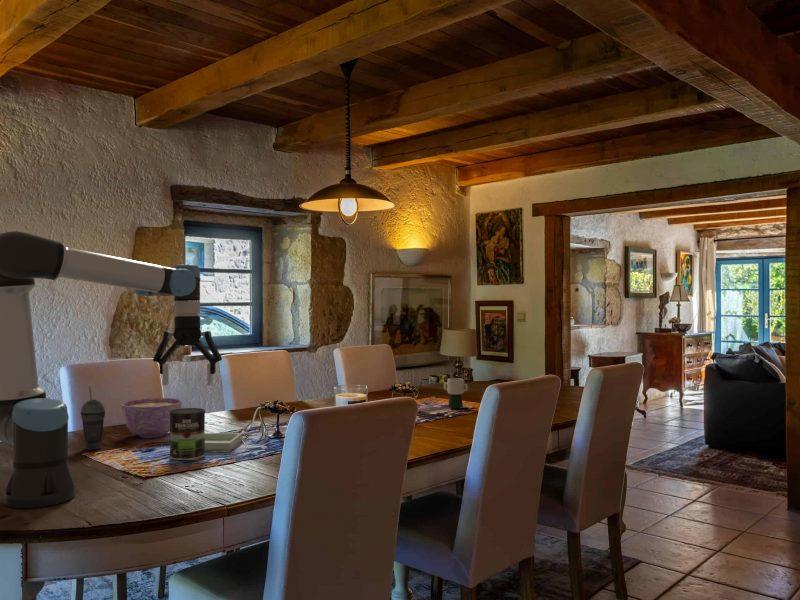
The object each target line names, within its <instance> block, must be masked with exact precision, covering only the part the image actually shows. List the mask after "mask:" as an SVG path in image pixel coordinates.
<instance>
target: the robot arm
mask: <svg viewBox="0 0 800 600" xmlns="http://www.w3.org/2000/svg"><path fill="white" fill-rule="evenodd" d="M59 278H64V279H68V280H69V279H71V280H75V281H76V280H77V281H81V282H87V283H95V284H102V285H109V286H113V287H119V288H126V289H132V290H133V292H134V293H135V294H136V295H137V296H141V297H171V296H172V297H173V300H174V301H173V303H174V305H173V306H174V307H173V311H174V315H176V316H174V317H173V319H174V320H173V323H174V326H173V327H174V330H173V331H170V330H165V331H163V337H162V340H161V342H160V344H159V346H158V348H157V350H156V353H155V354H154V356H153V359H152V361H153V362H156V363H158V364H159V374H160V375H162V386H167V385H169V363H168V362H167V361H169V358H170V357H171V356H172V355H173V354H174V353H175V352H176V350H177V349H178V348H179V347H180V346H181V347H184V346H185V347H186V346H188V347H193V346H195V348H197V349H198V351H199V352H200V353H201V354H202V355H203V356H204V358H205V359H206V360H207V361H208V362H209V363H207V364H206V368H207V369H206V370H207V371H206V375H207V377H206V379H207V380H206V381H207V383H206V385H207V386H212V385H213V381H214V380H213V379H214V377H213V375H214V374H216V369H217V367H216V366H217V363H219V362H220V361H222V356H221V354H220V352H219V350H218V347H217V346H216V343H215V342H214V340H213V337H212V331H211V330H207V331H206V330H205V331H201V316H200V314H201V301H200V300H201V272H200V267H199V265H197V264H190V263H189V264H187V263H186V264H180V263H179V264H175V265H174V266H173V267H168V266H163V265H160V264H159V265H158V264H153V263H148V262H143V261H139V260H138V261H137V260H133V259H128V258H123V257H119V256H118V257H117V256H113V255H107V254H104V253H98V252H93V251H88V250H83V249H77V248H73V247H67V246H66V244H65V243H64V242H63V241H60V240H53V239H49V238H46V237H42V236H38V235H34V234H31V233H27V232H24V231H17V230H14V231H6V232H3V233H2V232H1V233H0V442H1V443H4V444H6V445H8V446H11V447H12V471H11V474H10V476H9V480H8V484H7V485H6V488H5V491H4V495H3V499H4V500H3V501H4V502H3V503H4V504H3V505H4V506H5V507H7V508H13V509H35V508H37V509H38V508H44V507H45V508H46V507H51V506H54V505H57V504H58V505H59V504H62V503H64V502H68V501H70V500H72V499H74V498H75V497H76V495H77V488H76V486H77V485H76V482H75V479H74V478H73V474H72V471H71V469H70V466H69V457H68V456H69V449H68V448H69V412H68V407H67V404H66V403H65V402H64V401H62V400H59V399H55V398H53V399H51V398H47V392H46V389H44V387H42V386H40V384H39V380H38V370H37V368H38V367H37V362H36V361H37V359H36V352H35V351H36V350H35V340H34V338H35V337H34V329H33V320H32V310H31V308H32V307H31V301H30V300H31V299H30V298H31V297H30V292H31V291H32V290H33V289H34V288H35V286H36V283H35V279H41V280H42V279H44V280H51V281H56V280H58V279H59ZM201 337H203V339H204V340H205V341H206V344H207V345H208V348H209V350H210V351H211V352H210V351H209V350H208V349H207V347H205V346H204V344H203V342H202V341H201V340H200V339H201ZM172 338H174V339H175V341H174V342H173V343H171V344H172V345H171V346H170V347H169V348H168V350H167V351H166V352H165V350H166V348H167V346H168V344H169V342H170V340H171V339H172ZM164 352H165V353H164ZM211 353H212V354H211Z"/></svg>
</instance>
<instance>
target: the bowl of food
mask: <svg viewBox="0 0 800 600" xmlns="http://www.w3.org/2000/svg"><path fill="white" fill-rule="evenodd" d="M182 402H183V401H182V400H181V399H178V398H171V397H170V398H169V397H156V398H155V397H153V398H152V397H151V398H140V399H132V400H128V401H123V402H122V403H121V404H120V407H121V409H122V413H123V418H124V421H125V425H126V427H127V429H128V430H129V431H130V433H133V434H135V435H139V437H140V438H145V439H151V438H152V439H153V438H159V437H163V436H165V434H166V433H170V411H171V410H175V409H182V408H181V407H182Z"/></svg>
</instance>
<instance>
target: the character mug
mask: <svg viewBox="0 0 800 600" xmlns="http://www.w3.org/2000/svg"><path fill="white" fill-rule="evenodd" d="M443 390H444V391H447V394H449V397H448V409H455V410H456V409H457V410H460V409H462V408H464V406H463V405H464V404H463V397H462V394H464V392H468V383H465V380H464V378H459V377H450V378H447V381H445V382H443Z"/></svg>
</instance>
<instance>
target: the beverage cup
mask: <svg viewBox="0 0 800 600" xmlns="http://www.w3.org/2000/svg"><path fill="white" fill-rule="evenodd" d="M91 386H92V385H89V386H88V390H89V399H90V400H88V401H85V403H83V405H82V407H81V409H80V410H81V411H80V417H81V420H82V430H83V441H84V449H85V450H86V449H88V450H87V451H93V450H92V449H96V450H99V449H98V448H100V449H101V448H102V441H103V431H104V419H105V416H106V408H105V405H104V403H102V402H101V401H100V400H98V399H93V396H92V395H93V394H92V389H91V388H92V387H91ZM89 449H90V450H89Z"/></svg>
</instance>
